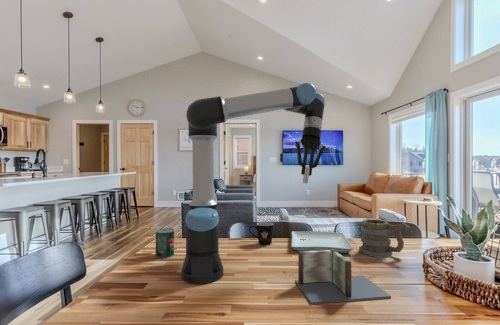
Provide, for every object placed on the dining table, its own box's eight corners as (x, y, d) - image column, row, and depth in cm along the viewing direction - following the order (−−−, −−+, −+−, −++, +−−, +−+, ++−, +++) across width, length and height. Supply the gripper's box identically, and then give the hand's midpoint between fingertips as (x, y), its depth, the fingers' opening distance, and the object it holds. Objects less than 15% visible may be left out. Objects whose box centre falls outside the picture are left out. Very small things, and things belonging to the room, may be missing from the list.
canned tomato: (175, 256, 119) (175, 231, 119) (156, 259, 115) (156, 233, 115) (172, 251, 126) (172, 227, 126) (154, 253, 123) (154, 229, 123)
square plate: (291, 237, 150) (291, 230, 150) (343, 239, 146) (343, 232, 146) (291, 253, 124) (291, 245, 124) (354, 256, 119) (354, 247, 119)
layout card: (311, 304, 79) (311, 301, 79) (295, 281, 93) (295, 279, 93) (390, 298, 82) (390, 295, 82) (363, 277, 97) (363, 275, 97)
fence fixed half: (299, 284, 90) (299, 252, 90) (297, 281, 92) (297, 250, 92) (337, 282, 92) (337, 250, 92) (334, 279, 94) (334, 248, 94)
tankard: (355, 252, 124) (355, 219, 124) (367, 246, 133) (367, 215, 133) (403, 263, 110) (403, 226, 110) (413, 256, 118) (413, 221, 118)
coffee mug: (276, 242, 139) (276, 223, 139) (268, 247, 131) (268, 226, 131) (256, 239, 145) (256, 220, 145) (248, 243, 138) (248, 223, 138)
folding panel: (332, 282, 91) (332, 251, 91) (337, 281, 91) (337, 251, 91) (346, 296, 81) (346, 262, 81) (352, 296, 81) (352, 262, 81)
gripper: (298, 123, 114) (290, 178, 109) (330, 128, 113) (323, 184, 108) (295, 129, 121) (288, 181, 116) (325, 134, 121) (319, 186, 116)
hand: (305, 182), depth 112 cm, fingers closed
